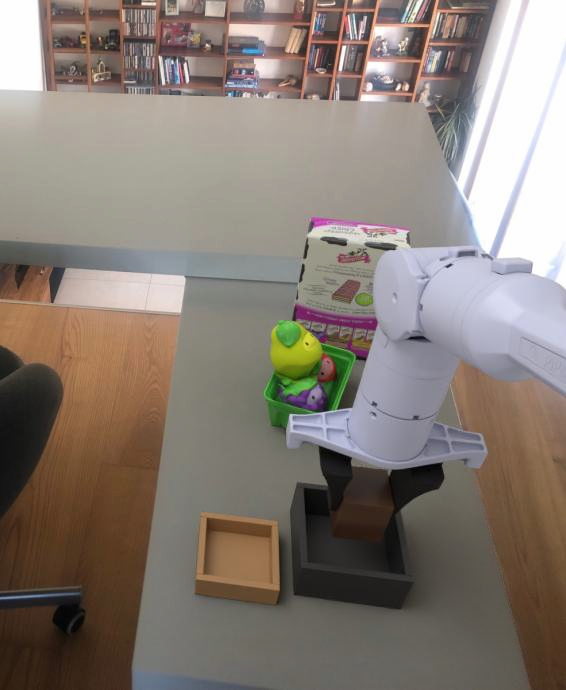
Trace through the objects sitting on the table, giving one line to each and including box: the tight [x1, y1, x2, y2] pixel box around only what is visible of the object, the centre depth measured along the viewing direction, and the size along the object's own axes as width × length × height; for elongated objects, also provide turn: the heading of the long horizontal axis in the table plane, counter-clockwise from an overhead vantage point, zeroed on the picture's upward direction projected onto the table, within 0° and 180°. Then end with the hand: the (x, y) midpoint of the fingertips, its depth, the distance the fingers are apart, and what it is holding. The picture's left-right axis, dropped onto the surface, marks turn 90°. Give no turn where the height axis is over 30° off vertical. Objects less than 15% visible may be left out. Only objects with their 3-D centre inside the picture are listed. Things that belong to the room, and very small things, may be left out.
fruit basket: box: [263, 319, 357, 430], centre depth 76 cm, size 11×9×11 cm
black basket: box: [289, 481, 415, 610], centre depth 63 cm, size 9×9×4 cm
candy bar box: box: [290, 216, 412, 361], centre depth 83 cm, size 11×5×16 cm, turn 73°
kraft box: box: [193, 511, 281, 606], centre depth 64 cm, size 7×7×2 cm
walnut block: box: [330, 465, 394, 543], centre depth 59 cm, size 4×4×5 cm
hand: (359, 504), depth 60 cm, fingers closed on walnut block, 4 cm apart
